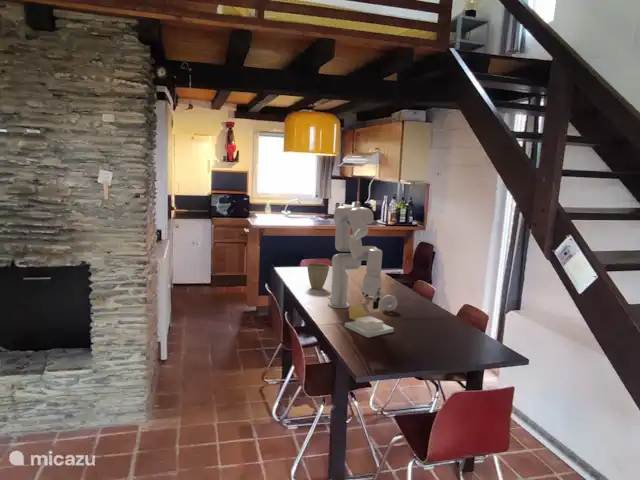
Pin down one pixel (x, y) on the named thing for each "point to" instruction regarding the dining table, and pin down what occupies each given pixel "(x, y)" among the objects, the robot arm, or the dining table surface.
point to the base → (369, 332)
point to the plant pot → (317, 274)
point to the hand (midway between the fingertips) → (370, 306)
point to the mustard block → (356, 312)
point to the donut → (384, 301)
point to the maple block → (369, 304)
